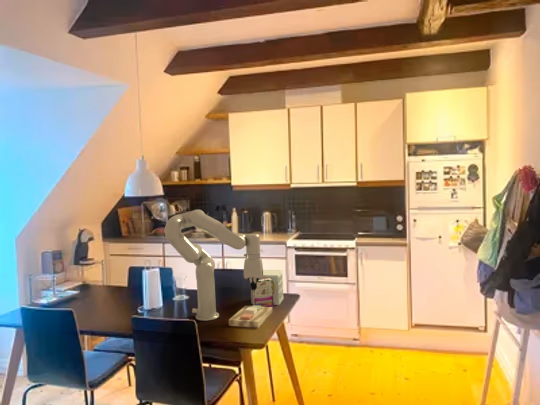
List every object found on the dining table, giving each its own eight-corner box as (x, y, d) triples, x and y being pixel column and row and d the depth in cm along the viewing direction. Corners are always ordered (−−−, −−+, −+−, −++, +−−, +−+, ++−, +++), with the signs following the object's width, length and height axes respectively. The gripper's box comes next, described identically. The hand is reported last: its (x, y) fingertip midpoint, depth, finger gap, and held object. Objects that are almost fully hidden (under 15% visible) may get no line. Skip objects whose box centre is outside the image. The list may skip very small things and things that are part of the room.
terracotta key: (240, 322, 229) (240, 316, 229) (244, 318, 234) (243, 313, 234) (249, 322, 228) (249, 317, 228) (252, 319, 232) (252, 313, 232)
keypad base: (229, 325, 229) (228, 319, 228) (245, 310, 251) (245, 305, 251) (258, 327, 224) (258, 321, 224) (272, 312, 247) (272, 307, 246)
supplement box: (250, 304, 263) (249, 274, 262) (256, 298, 276) (255, 269, 275) (279, 305, 259) (278, 275, 258) (283, 298, 272) (282, 269, 271)
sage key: (249, 313, 243) (249, 308, 242) (253, 310, 247) (252, 305, 247) (258, 314, 241) (258, 308, 241) (261, 311, 246) (261, 305, 246)
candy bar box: (271, 305, 260) (270, 277, 259) (273, 307, 255) (272, 279, 254) (252, 307, 257) (251, 279, 256) (254, 309, 253) (253, 281, 251)
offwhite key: (245, 315, 236) (245, 309, 236) (248, 312, 241) (248, 307, 240) (254, 316, 234) (253, 310, 234) (257, 313, 239) (257, 307, 239)
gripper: (237, 257, 240) (238, 290, 242) (264, 258, 236) (264, 292, 237) (242, 254, 248) (243, 286, 249) (268, 255, 243) (268, 288, 244)
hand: (253, 289), depth 243 cm, fingers closed
